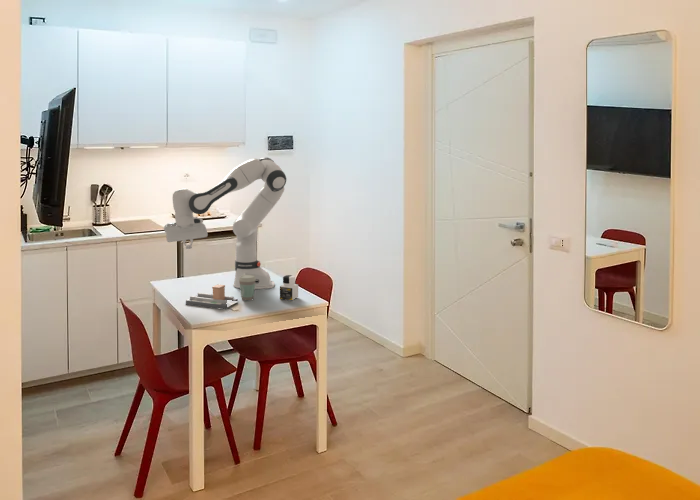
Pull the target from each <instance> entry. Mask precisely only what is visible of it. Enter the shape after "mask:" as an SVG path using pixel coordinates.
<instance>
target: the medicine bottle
mask: <svg viewBox="0 0 700 500" xmlns="http://www.w3.org/2000/svg"><path fill="white" fill-rule="evenodd" d="M297 297H298V298H299V284H296V276H294V275H291V274H287V275H284V276H283V277H282V285H280V286H279V299H285V300H284V301H287V300H293V299H295V298H297ZM298 298H297V299H298ZM295 300H296V299H295ZM293 301H294V300H293Z"/></svg>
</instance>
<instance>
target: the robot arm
mask: <svg viewBox="0 0 700 500" xmlns="http://www.w3.org/2000/svg"><path fill="white" fill-rule="evenodd" d="M258 180H262V182H264V184H263V186H262V188H260V190H259V191H258V192H257V194H255V196H254V197H253V198H252V200H251V201H250V202H249V203H248V204H247V206H246V207H245V208H244V210H242V212H241V213H240V214H239V215H238V216H237V217H236V219H235V220H234V222H233V225H232V232H233V233H234V235H235V236H236V243H235V260H234V270H235V275H234V276H235V277H234V282H233V284H232V286H233V287H234V288H236V289H240V282H239V278H240V276H241V275H254V276H255V278H256V280H255V288H254V290H265V289H272V288H274V287H275V286H276V285H275V281H274V280H271V276H270V272H268V271H266V269H264V268H262V267H261V264H262V263H261V261H260V260H258V259H257V242H258V241H257V239H258V227H259V225H260V224H261V223H262V222H263V220H264V219H265V218H266V217H267V216H268V214H269V213H271V211H272V210H273V208H274V207H275V205H277V203H278V202H279V201H280V199H281V197H282V196H283V193H284V192H285V186H286V184H287V176H286V174H285V172H284V171H283V170H282V169H281V167H280V165H278V164H277V163H276V162H275V161H274V160H273V159H272V158H269V157H267V156H265V157H260V158H251V159H248V160H246V161H244V162H242V163H240V164H239V165H237V166H236V167H234V168H233V169H231V170H230V171H229V172H228V173H227V175H226V176H225V177H224V178H223V179H222V180H221V182H219V183H218V184H215V186H213V187H211V188H210V189H208V190H207V191H205V192H200V193H199V192H196V191H192V190H191V189H189V188H185V187H184V188H182V189H181V188H180V189H178V190H175V191H174V192H173V193H172V205H173V206H172V207H173V210H174V218H175V219H174V220H175V222H172V223H167V224H165V225H164V226H163V231H164V232H165V234H166V235H165V236H166V242H167V243H174V242H181V241H182V244H184V246H185V250H189V249H192V248H193V246H192V245H193V242H194V240H195V239H196V240H197V239H203V238H207V237H208V234H209V233H208V230H207V227H206V225H205V224H204V220H203V218H201V217H194V214H196V215H204V214H205V213H207V212H208V211H209V210H210V208H211V207H212V205H213V204H214V203H215V202H217V201H218V200H219V199H221V198H223V197H224V196H226V195H228V194H229V193H230V194H231V193H232V192H237V191H239V190H242V189H244V188H247V187H248V186H250V185H251V184H253V183H254V182H256V181H258ZM188 240H189V241H190V244H186V241H188Z"/></svg>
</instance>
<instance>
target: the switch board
mask: <svg viewBox="0 0 700 500" xmlns="http://www.w3.org/2000/svg"><path fill="white" fill-rule="evenodd" d="M238 299H239V298H235V297H234V296H229V295H225V300H219V299H213V293H212V294H211V293H205V292H197V295H195V296H193V295H190V296H189V298H188V299H185V305H189V306H195V305H196V307H203V306H204V307H205V308H210V307H212V308H211V309H218V308H220V310H227V309H228V308H227V304H226V303H227V300H232V301H239V300H238ZM226 308H227V309H226Z"/></svg>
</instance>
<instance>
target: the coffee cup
mask: <svg viewBox="0 0 700 500" xmlns="http://www.w3.org/2000/svg"><path fill="white" fill-rule="evenodd" d="M255 280H256V278H255V276H254V275H241V276H240V278H239V282H240V288H239V289H240V295H241V296H240V297H241V300H242V301H244V300H250V301H253V300H254V297H255V296H254V294H255V289H254V288H255ZM252 299H253V300H252Z"/></svg>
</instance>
